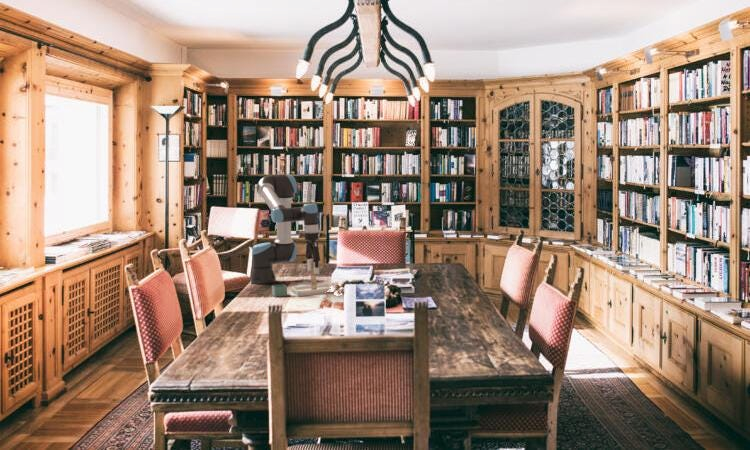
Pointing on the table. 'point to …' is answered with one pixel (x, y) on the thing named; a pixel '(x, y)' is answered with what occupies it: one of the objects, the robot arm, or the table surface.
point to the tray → (308, 291)
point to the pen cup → (279, 290)
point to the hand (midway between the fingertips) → (313, 272)
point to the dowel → (313, 276)
